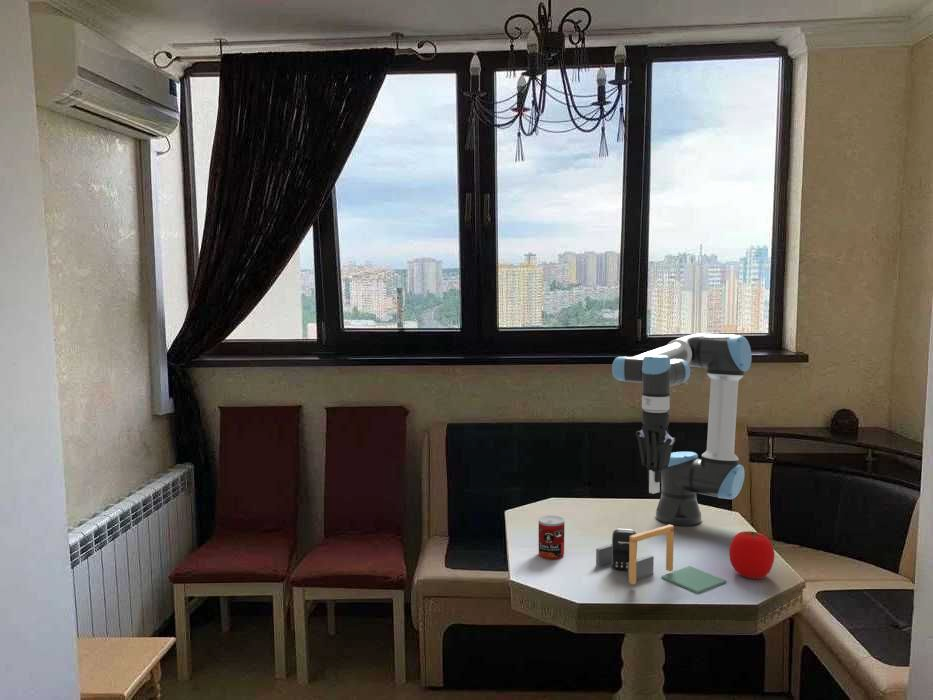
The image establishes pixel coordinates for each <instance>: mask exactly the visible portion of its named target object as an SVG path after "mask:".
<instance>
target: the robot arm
mask: <svg viewBox="0 0 933 700" xmlns="http://www.w3.org/2000/svg"><path fill="white" fill-rule="evenodd" d="M752 359H753V358H752V349H751V346H750V343H749V341H748V339H747V338H746V337H745V336H743V335H739V334H732V333H728V334H727V333H726V334H725V333H694V334H689V335H685V336H681V337H678V338H676V339H672V340H671V341H669V342H668V343H667V344H666V345H664V346H663V345H662V346H660V347H657V348H655V349H652V350H648V351H646V352H643V353H640V354H636V355H634V356H627V355H625V356H616V357H615V358H614V360H613V362H612V366H611V371H612V372H611V373H612V376H613V378H614V379H615V380H617V381H620V382H621V381H622V382H624V383H627V382H629V383H638V384H639V383H640V384H641V385H642V387H641V388H642V389H641V390H642V391H641V408H642V411H641V423H642V424H643V425H642V426H641V427H642V428H641V430H638V431H635V436H636V438H637V441H638V442H637V443H638V448H639V454H640V456H639V457H640V460H641V465H642V466H644V467H646V469H647V481H648V493H649V494H652V495H654V494H657V493H660V498H659V500H658V504H657V508H656V510H655V518H656V519H657V520H658V521H660V522H662V523H665V524H667V525H669V524H670V525H673V526H695V525H698V524H700V523H701V522H702V513H701V510H700V506H699V503H698V500H697V494H699V495H704V496H709V497H710V496H711V497H715V498H719V499H726V500H733V499H735V498H736V497H737V496H738V495H739V493H741V491H742V488H743V485H744V481H745V473H746V472H745V468H744V466H743V465H742V464H739V457H738V456H737V454H735V446H736V445H735V444H736V443H735V442H736V428H737V427H736V424H737V412H738V411H737V410H738V393H739V381H740V380H741V379H742V378H744V375H745V372H747V371H749V370H750V368H751V365H752ZM691 367H692V368H701V369H706V375H707V376H708V377H709V379H710V386H709V387H710V388H709V390H710V391H709V403H708V405H709V407H708V420H707V421H708V422H707V438H706V439H707V440H706V450H705V451H704V452H703V453H702V454H701V458H699V455H698V453H696V452H694V451H676V452H675V451H673V452H672V450H673V447H674V445H675V443H676V441H677V438H675V437H672V436H671V435H670V434H669V433H670V432H669V429H668V426H669V424H670V412H669V410H670V407H671V405H670V403H671V402H670V401H671V400H670V398H671V397H670V396H671V395H670V388H671V387H674V386H679V385H682V384H684V383H685V382H687V381H688V380H689V378H690V376H691ZM660 484H661V485H660ZM660 486H661V487H660ZM660 488H661V489H660Z"/></svg>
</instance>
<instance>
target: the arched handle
mask: <svg viewBox="0 0 933 700" xmlns="http://www.w3.org/2000/svg"><path fill="white" fill-rule="evenodd" d="M674 528H675V525H673V524H667V525H663V526H659V527H656V528H653V529H649V530H645V531H642V532H639V533H637V534H635V535H631V536H630V545H629V580H628V583H629V584H631V585H634V584H637V579H636V559H637V556H636V554H637V553H638V542H642V541H644V540H646V539H647V540H648V539H650V538H653V537H656V536H659V535H664V534H666V547H665V549H666V550H665V552H666V553H665V554H666V555H665V557H666V558H665V570H666V571H668V572H674V540H675V539H674V536H675V535H674V533H675V530H674Z"/></svg>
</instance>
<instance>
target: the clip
mask: <svg viewBox="0 0 933 700" xmlns="http://www.w3.org/2000/svg"><path fill="white" fill-rule="evenodd" d="M595 552H596V553H595V556H596V557H595V565H596V566H597V567H599V566H600V567H602V565H603V566H605V565H609V564H612V562H613V554H612V543H610V544H607V545H604V546H600V547H597V548H596V550H595ZM654 559H655V557H654V555H652V554H649V555H646V556H643V557H640V558H636V580H638V579H641V578H645V577H647V576H650V575H653V574H654ZM627 581H629V562H628V571H627Z"/></svg>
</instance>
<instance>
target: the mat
mask: <svg viewBox="0 0 933 700" xmlns="http://www.w3.org/2000/svg"><path fill="white" fill-rule="evenodd" d="M661 579H663V580H665V581H668V582H670V583H672V584H674V585H677V586H678V587H679V586H680V587H681V588H684V589H686V590H689V591H691V592H693V593H695V594H701V593H703V592H705V591H708V590H711V589H714V588H716V587H718V586H721V585H724V584H726V583H727V579H726V580H725V579H723V578H721V577H718V576H716V575H715V574H714V575H713V574H710V573H708V572H705V571H703V570H701V569H698V568H696V567H693V566H690V565H689V566H686V567H683V568H681V569H677V570H673V571H670V572H669V573H665V574H663V575H661Z"/></svg>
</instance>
